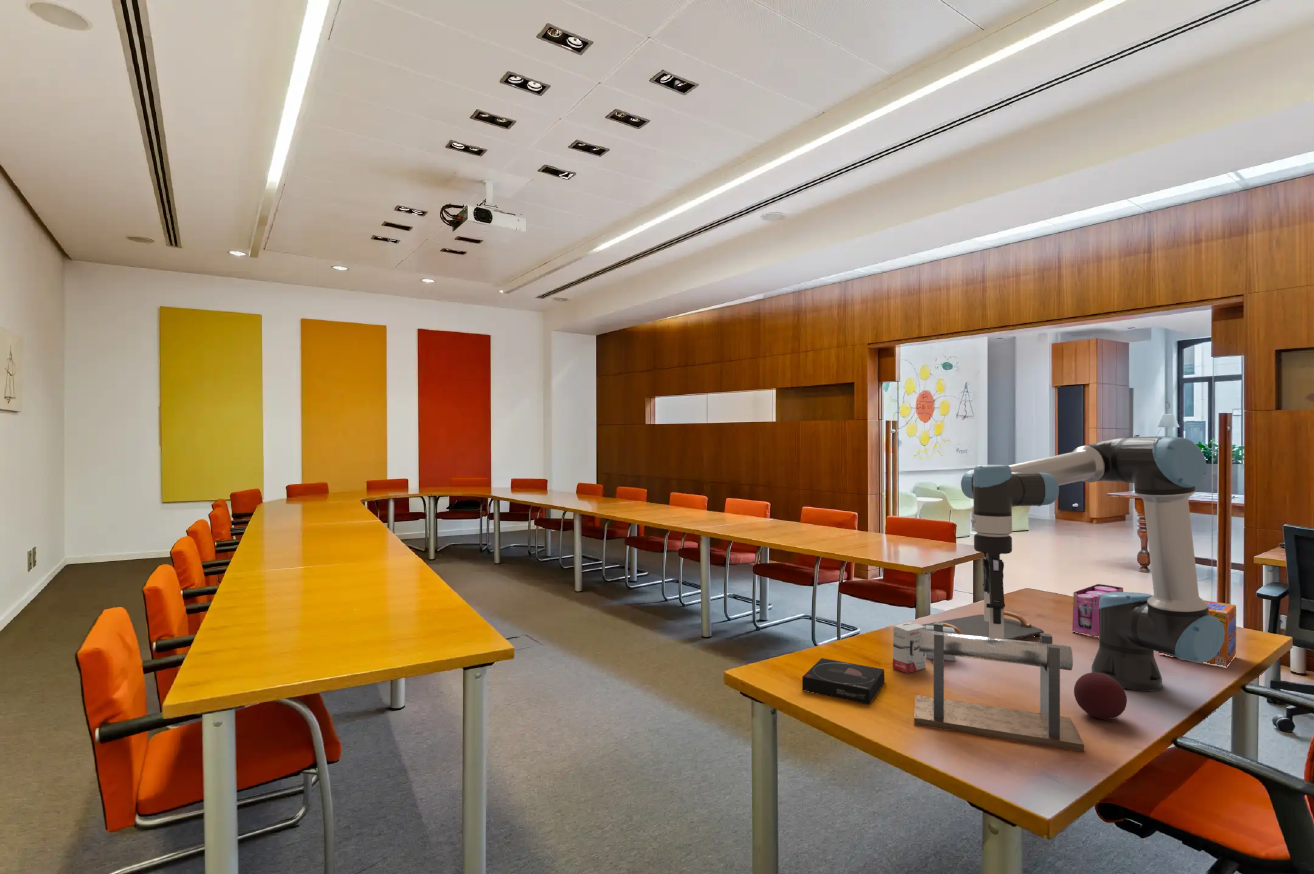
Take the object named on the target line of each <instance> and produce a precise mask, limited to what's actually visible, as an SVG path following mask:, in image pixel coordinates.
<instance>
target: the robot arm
mask: <svg viewBox="0 0 1314 874" xmlns="http://www.w3.org/2000/svg"><path fill="white" fill-rule="evenodd" d="M1206 473H1207V461H1206V457H1205V454H1204V453H1203V451H1202V449H1201V448H1200V446H1198V445H1197V444H1195V442H1194V441H1192V440H1190V439H1188V438H1186V437H1179V436H1178V437H1177V436H1167V435H1165V436H1162V435H1161V436H1125V437H1124V436H1122V437H1116V438H1111V439H1107V440H1101V441H1098V442H1094V443H1090V444H1086V445H1082V446H1078V447H1076V448H1074V450H1072V451H1071V452H1067V453H1061V454H1058V455H1052V456H1048V457H1042V458H1039V459H1037V458H1036V459H1034V460H1029V461H1023V462H1018V463H1014V464H1009V465H1008V464H978V465H976V466H975V467H974V469H970V470H968V471H966V472H965V473H964V474H963V475H962V477H961V480H960V488H961V491H962V493H963V494H964V496H965V497H966V498H968V499H971V500H973V517H974V518H973V517H972V518H971V519H970V522H971V523H974V524H973V531H974V533H975V534H974V535H973V549H974V551H976V552H978V553H981V554H983V555H984V557H983V558H982V567H983V568H982V569H983V570H982V571H983V572H982V573H983V583H982V586H983V591H984V592H983V615H984V621H988V622H989V637H990V638H995V639H1004V618H1005V615H1004V611H1005V606H1006V603H1005V591H1004V568H1005V562H1004V561H1003V559H1001V555H1008V554H1010V553H1012V552H1013V537H1012V536H1011V535H1012V533H1013V515H1012V514H1013V513H1012V512H1013V510H1012V509H1013V508H1014V507H1034V506H1035V507H1042V506H1047V505H1051V504H1053V503H1055V501H1056V500H1057V499H1058V497H1059V494H1060V487H1059V486H1063V485H1067V484H1071V483H1076V482H1077V483H1078V482H1081V481H1082V482H1085V483H1091V484H1092V483H1096V482H1115V483H1116V482H1117V483H1118V482H1120V483H1127V484H1133V487H1134V494H1135V495H1136V496H1138V497H1139V498H1141V499H1142V501H1143V511H1144V517H1145V518H1144V519H1145V525H1146V526H1145V527H1146V535H1147V537H1146V538H1147V545H1148V552H1149V553H1148V554H1149V561H1150V570H1151V580H1152V590H1153V595H1152V594H1150V593H1142V592H1135V591H1133V592H1130V591H1123V592H1109V593H1104V594H1102V595H1101V596H1100V603H1099V608H1098V609H1099V638H1098V639H1099V641H1098V643H1099V646H1098V649H1097V652H1096V654H1095V657H1094V659H1093V661H1092V664H1091V667H1090V668H1091V670H1090V671H1091V672H1090V673H1092V672H1097V673H1103V674H1106V675H1109V676H1110V677H1112V678H1114V679H1115V680H1116V681H1117V682H1119V684H1120V685H1121V686H1122V688H1123V689H1125V688H1127V690H1131V689H1132V690H1131V691H1139V690H1141V691H1142V692H1153V691H1154V692H1155V691H1159V690H1161V689H1162V688H1163V677H1162V674H1161V672H1160V669H1159V666H1158V664H1157V660H1156V658H1155V654H1154V652H1155V651H1156V652H1158V653H1159V652H1161V653H1164V654H1167V655H1170V656H1173V657H1177V658H1178V659H1177V658H1176V659H1177V660H1181V661H1186V660H1187V661H1186V662H1190V663H1191V662H1192V663H1197V664H1201V663H1203V662H1207V661H1209V660H1211V659H1212V658H1213V657H1215V656H1216V655H1217V653H1218V652H1219V650H1220V649H1221V647H1222V645H1223V642H1224V636H1225V631H1224V626H1223V624H1222V623H1221V622H1220V620H1219V619H1217V618H1215V617H1213V616H1210V615H1209V608H1208V604H1207V602H1205V601H1206V600H1205V601H1204V599H1203V598H1201V597H1200V595H1199V585H1198V577H1197V576H1198V575H1197V566H1196V558H1195V549H1194V539H1193V530H1192V523H1191V521H1192V519H1191V513H1190V512H1191V511H1190V505H1189V503H1190V502H1189V498H1190V497H1192V495H1194V494H1195V493H1196V492H1197V491H1196V486H1198V485H1200V484H1201V483H1202V482H1203V481H1204V479H1205V476H1204V475H1206ZM1010 534H1011V535H1010Z"/></svg>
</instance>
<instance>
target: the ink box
mask: <svg viewBox="0 0 1314 874" xmlns="http://www.w3.org/2000/svg"><path fill="white" fill-rule="evenodd" d="M922 625H923V624H919V623H916V622H913V621H908V622H904V623H901V624H900V623H899V624H895V625H894V626H893V635H892V637H893V638H892V669H895V670H897V671H900V672H903V673H906V674H909V673H912V672H916V671H920V670H922V669H925V668H926V653H924V652H919V630H926V626H922Z"/></svg>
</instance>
